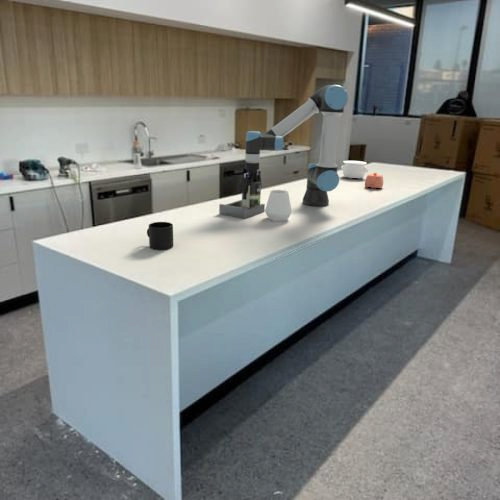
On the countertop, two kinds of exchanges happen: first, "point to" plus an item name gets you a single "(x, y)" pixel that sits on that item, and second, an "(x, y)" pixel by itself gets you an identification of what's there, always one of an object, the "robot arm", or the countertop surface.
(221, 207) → the grey u-shaped frame
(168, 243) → the mug
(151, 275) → the countertop surface
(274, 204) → the cup
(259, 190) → the coffee can
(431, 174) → the countertop surface
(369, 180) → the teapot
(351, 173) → the pot
